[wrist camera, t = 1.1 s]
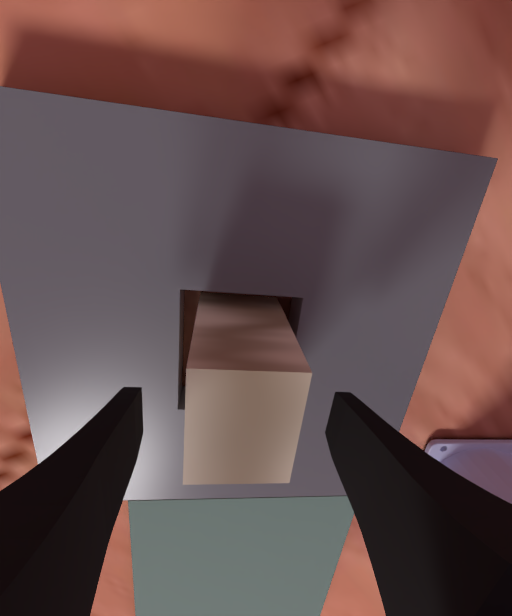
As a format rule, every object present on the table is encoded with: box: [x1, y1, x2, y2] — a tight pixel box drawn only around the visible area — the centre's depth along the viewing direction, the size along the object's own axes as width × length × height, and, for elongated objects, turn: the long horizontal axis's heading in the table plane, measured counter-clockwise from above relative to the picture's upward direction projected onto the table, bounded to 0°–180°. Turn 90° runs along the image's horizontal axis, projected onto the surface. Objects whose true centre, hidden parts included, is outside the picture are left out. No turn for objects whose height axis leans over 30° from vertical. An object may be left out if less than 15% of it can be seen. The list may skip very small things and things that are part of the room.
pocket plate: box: [0, 86, 498, 500], centre depth 16 cm, size 20×20×2 cm
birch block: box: [183, 292, 312, 485], centre depth 14 cm, size 4×5×7 cm
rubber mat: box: [128, 495, 354, 616], centre depth 24 cm, size 16×16×1 cm
